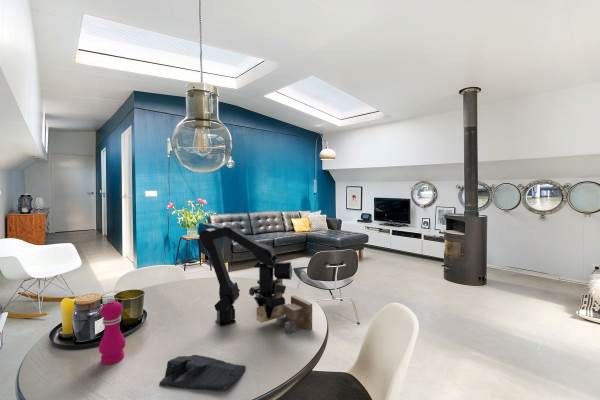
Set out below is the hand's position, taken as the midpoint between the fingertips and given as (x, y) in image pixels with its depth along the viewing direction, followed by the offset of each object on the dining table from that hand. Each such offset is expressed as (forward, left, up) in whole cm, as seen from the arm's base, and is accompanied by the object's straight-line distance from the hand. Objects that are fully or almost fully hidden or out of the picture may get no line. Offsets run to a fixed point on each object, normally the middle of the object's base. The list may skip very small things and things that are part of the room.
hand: (266, 316), depth 120 cm
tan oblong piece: (+4, 0, -1) cm, 4 cm away
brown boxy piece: (+8, -8, -3) cm, 12 cm away
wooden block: (+14, +19, -4) cm, 24 cm away
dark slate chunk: (-32, -17, -4) cm, 36 cm away
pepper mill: (-52, +9, -4) cm, 53 cm away
